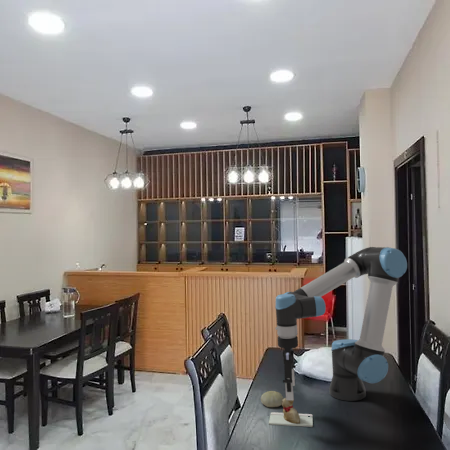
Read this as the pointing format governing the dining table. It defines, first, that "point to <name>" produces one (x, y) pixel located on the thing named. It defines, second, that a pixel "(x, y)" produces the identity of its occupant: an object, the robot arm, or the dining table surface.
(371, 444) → the dining table surface
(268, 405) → the sea urchin shell
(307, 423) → the mat
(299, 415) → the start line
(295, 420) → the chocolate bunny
